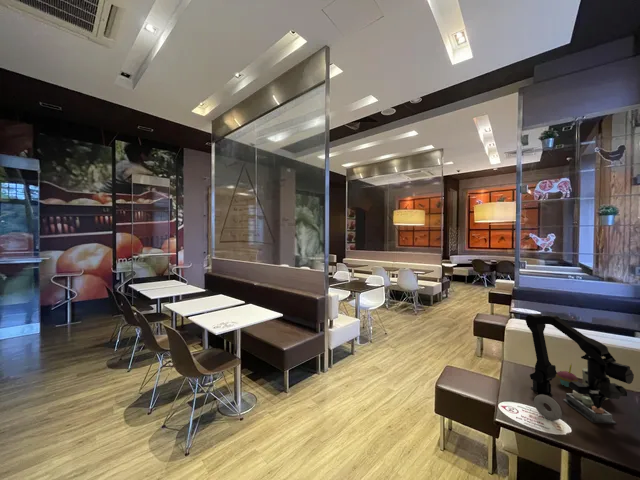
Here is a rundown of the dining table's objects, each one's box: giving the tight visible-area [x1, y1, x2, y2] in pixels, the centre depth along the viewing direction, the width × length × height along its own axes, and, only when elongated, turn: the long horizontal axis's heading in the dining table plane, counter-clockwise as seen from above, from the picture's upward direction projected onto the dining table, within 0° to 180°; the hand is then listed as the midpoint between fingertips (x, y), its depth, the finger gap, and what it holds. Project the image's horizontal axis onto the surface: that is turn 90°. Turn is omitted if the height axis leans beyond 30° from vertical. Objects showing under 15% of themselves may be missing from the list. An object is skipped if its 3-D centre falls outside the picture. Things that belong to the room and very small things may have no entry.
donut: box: [533, 394, 563, 422], centre depth 116 cm, size 10×4×10 cm, turn 23°
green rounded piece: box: [582, 395, 593, 406], centre depth 120 cm, size 4×4×4 cm
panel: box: [562, 392, 617, 425], centre depth 120 cm, size 9×16×4 cm, turn 173°
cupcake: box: [556, 364, 579, 388], centre depth 142 cm, size 9×8×12 cm
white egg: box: [572, 389, 584, 400], centre depth 125 cm, size 4×4×4 cm
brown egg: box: [592, 406, 605, 413], centre depth 115 cm, size 4×4×4 cm
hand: (597, 407), depth 115 cm, fingers closed
